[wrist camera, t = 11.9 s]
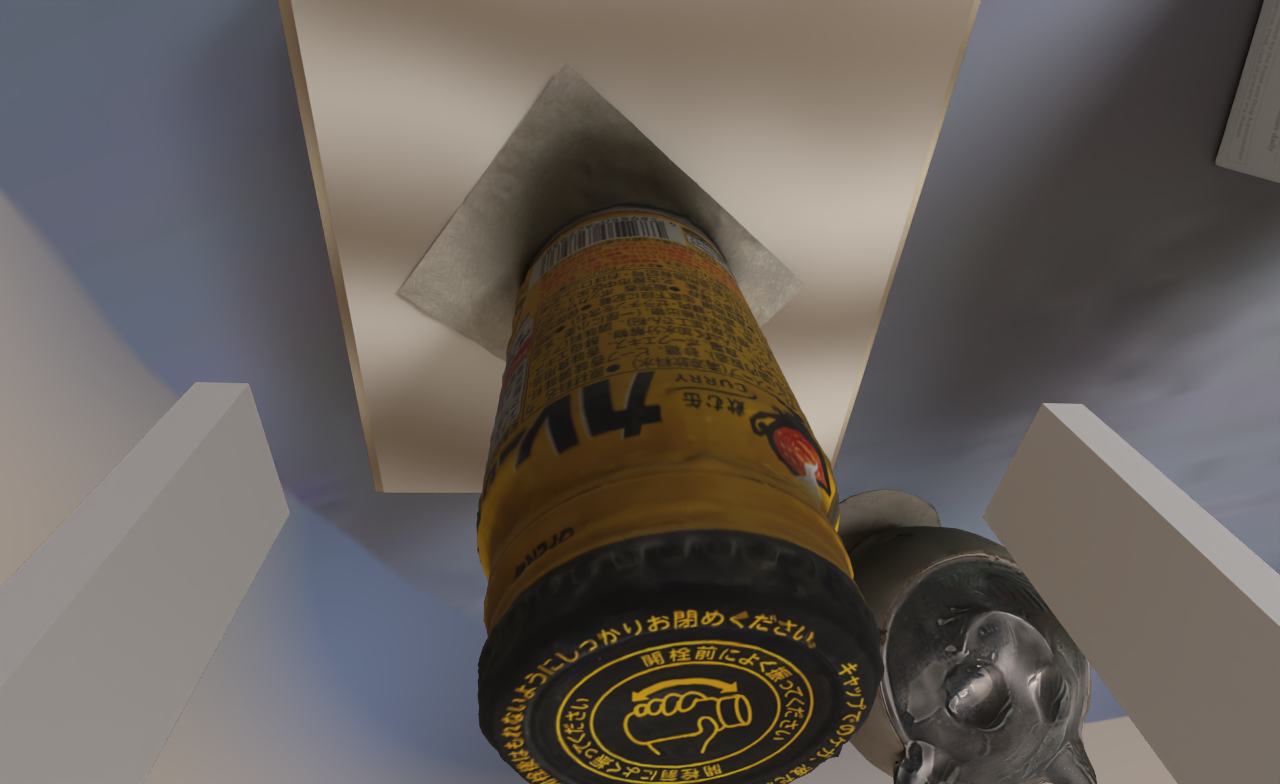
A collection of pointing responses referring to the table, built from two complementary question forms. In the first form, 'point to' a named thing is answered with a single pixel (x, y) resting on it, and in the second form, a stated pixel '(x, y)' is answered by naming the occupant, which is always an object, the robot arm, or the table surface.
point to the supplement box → (1257, 105)
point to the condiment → (644, 474)
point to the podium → (667, 115)
